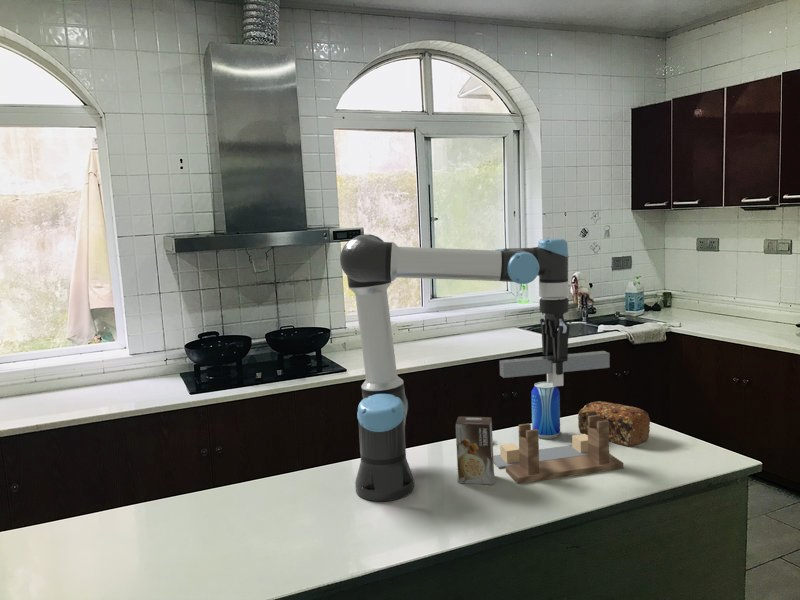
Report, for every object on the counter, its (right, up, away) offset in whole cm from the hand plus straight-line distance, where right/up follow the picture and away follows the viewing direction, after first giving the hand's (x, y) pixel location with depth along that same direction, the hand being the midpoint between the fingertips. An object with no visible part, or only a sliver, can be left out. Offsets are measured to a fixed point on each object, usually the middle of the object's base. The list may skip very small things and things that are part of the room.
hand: (555, 383), depth 172 cm
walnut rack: (+2, -23, -1) cm, 23 cm away
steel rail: (0, +3, -1) cm, 3 cm away
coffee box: (-22, -25, -4) cm, 33 cm away
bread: (+23, -19, +21) cm, 37 cm away
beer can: (+3, -19, +25) cm, 32 cm away
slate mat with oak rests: (0, -22, +9) cm, 23 cm away
